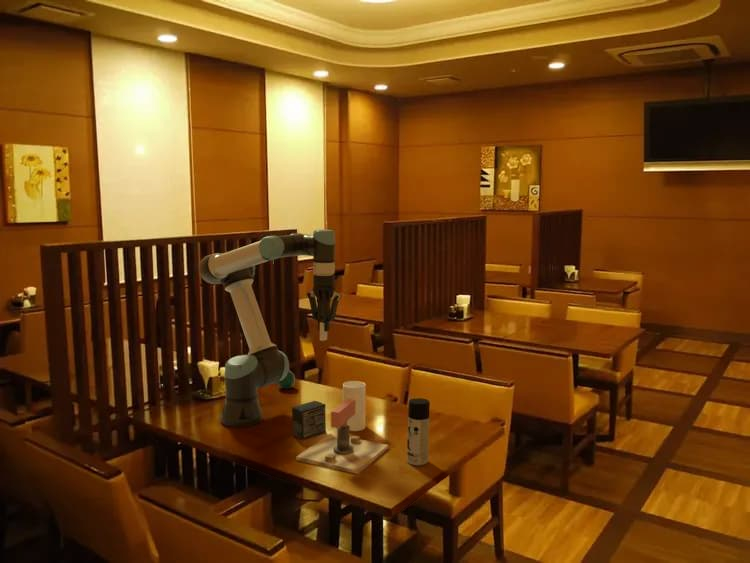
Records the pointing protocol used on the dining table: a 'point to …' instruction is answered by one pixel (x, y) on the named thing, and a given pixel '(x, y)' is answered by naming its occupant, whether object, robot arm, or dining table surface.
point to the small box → (308, 420)
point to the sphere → (287, 381)
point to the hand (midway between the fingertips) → (323, 339)
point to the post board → (343, 452)
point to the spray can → (418, 431)
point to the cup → (356, 403)
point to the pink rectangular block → (343, 413)
